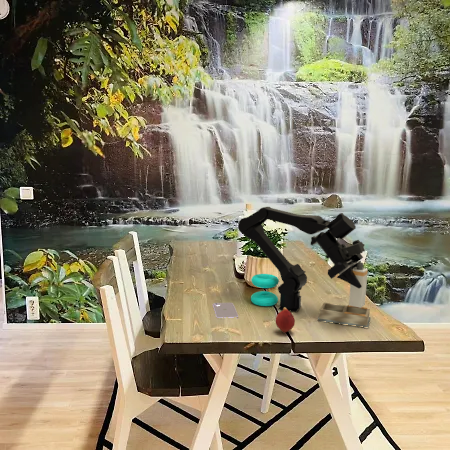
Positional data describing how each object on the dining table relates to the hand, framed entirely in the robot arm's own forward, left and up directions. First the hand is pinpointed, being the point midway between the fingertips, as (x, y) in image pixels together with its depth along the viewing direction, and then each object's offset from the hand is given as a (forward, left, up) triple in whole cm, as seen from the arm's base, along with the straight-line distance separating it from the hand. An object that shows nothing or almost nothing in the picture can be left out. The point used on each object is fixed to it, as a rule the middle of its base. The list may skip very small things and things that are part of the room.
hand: (362, 286), depth 146 cm
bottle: (-1, 0, -7) cm, 7 cm away
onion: (-21, -17, -13) cm, 30 cm away
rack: (-5, +1, -13) cm, 14 cm away
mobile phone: (-45, -7, -13) cm, 47 cm away
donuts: (-35, +7, -13) cm, 38 cm away
